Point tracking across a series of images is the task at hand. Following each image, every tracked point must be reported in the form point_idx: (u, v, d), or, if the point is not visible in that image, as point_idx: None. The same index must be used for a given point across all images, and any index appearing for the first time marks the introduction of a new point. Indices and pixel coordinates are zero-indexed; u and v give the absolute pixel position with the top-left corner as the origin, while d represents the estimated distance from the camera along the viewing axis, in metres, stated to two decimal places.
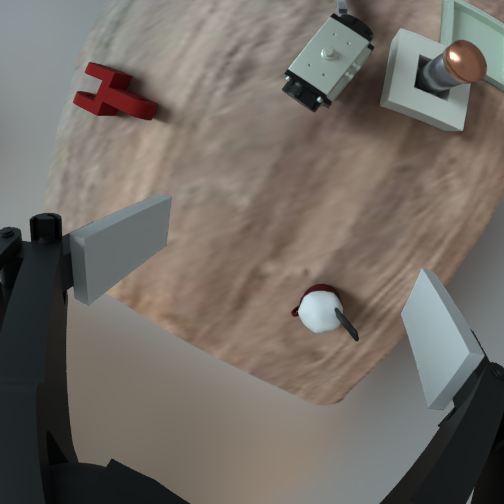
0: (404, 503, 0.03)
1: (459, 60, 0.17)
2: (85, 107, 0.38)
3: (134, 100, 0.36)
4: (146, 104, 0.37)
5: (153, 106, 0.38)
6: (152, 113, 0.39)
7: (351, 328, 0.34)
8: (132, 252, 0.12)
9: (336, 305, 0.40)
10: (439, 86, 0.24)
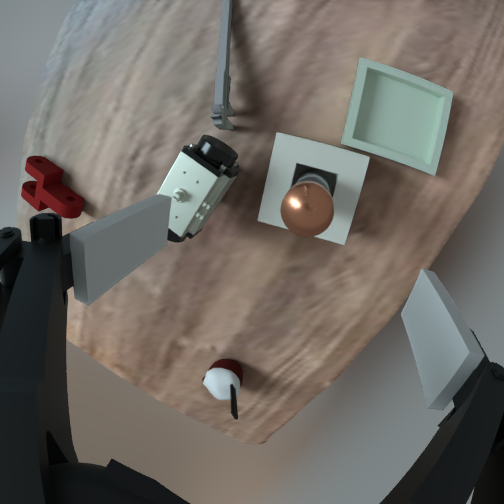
0: (404, 503, 0.03)
1: (292, 214, 0.23)
2: (29, 202, 0.43)
3: (61, 203, 0.42)
4: (71, 206, 0.42)
5: (77, 206, 0.43)
6: (78, 211, 0.44)
7: (231, 409, 0.39)
8: (132, 252, 0.12)
9: (232, 382, 0.45)
10: None
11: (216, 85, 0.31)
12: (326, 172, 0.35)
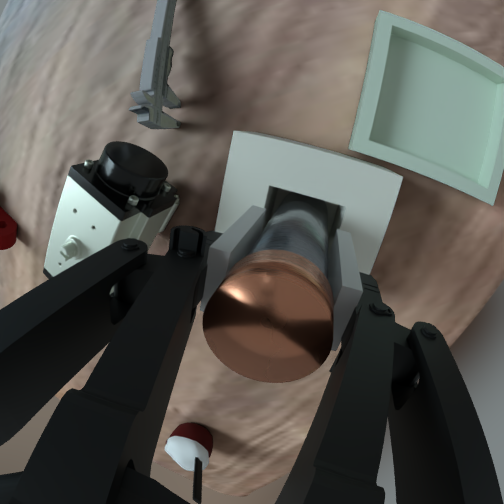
0: (309, 468, 0.04)
1: (231, 340, 0.09)
2: None
3: None
4: None
5: (7, 235, 0.30)
6: (10, 240, 0.31)
7: (193, 493, 0.26)
8: None
9: (197, 455, 0.32)
10: None
11: (145, 60, 0.18)
12: None
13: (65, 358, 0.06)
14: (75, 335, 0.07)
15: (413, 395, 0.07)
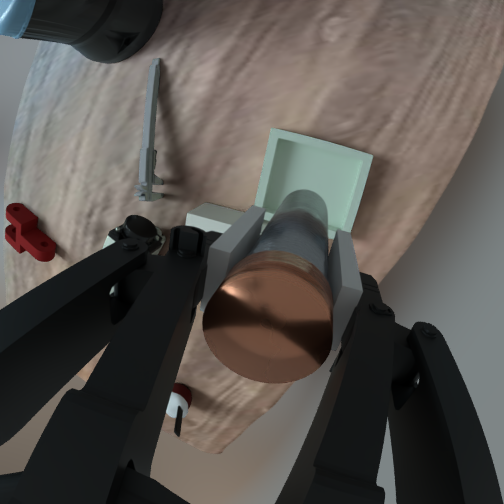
0: (309, 468, 0.04)
1: (231, 340, 0.09)
2: (12, 245, 0.48)
3: (36, 250, 0.47)
4: (44, 252, 0.47)
5: (50, 251, 0.48)
6: (52, 255, 0.49)
7: (174, 428, 0.45)
8: None
9: (179, 404, 0.51)
10: None
11: (140, 163, 0.36)
12: None
13: (64, 358, 0.06)
14: (75, 335, 0.07)
15: (413, 395, 0.07)
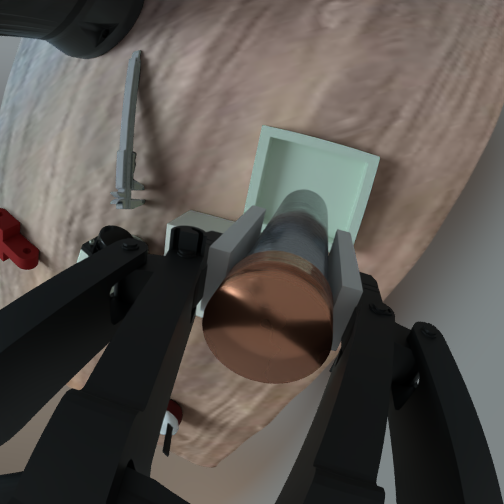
0: (309, 468, 0.04)
1: (231, 340, 0.09)
2: None
3: (18, 257, 0.42)
4: (26, 259, 0.43)
5: (32, 259, 0.44)
6: (34, 262, 0.45)
7: (163, 447, 0.40)
8: None
9: (168, 421, 0.46)
10: None
11: (117, 167, 0.32)
12: None
13: (65, 358, 0.06)
14: (75, 335, 0.07)
15: (413, 395, 0.07)
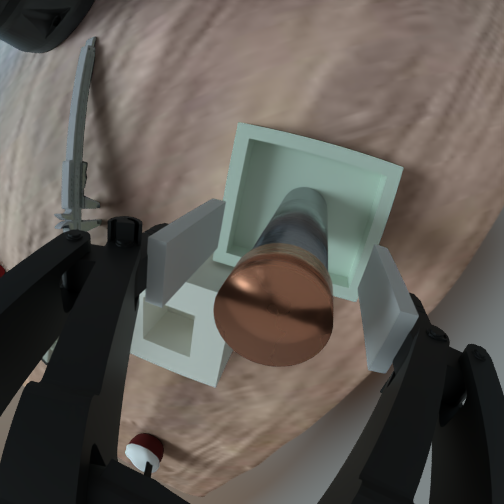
0: (354, 481, 0.04)
1: (240, 325, 0.10)
2: None
3: None
4: None
5: None
6: None
7: None
8: (196, 255, 0.13)
9: (147, 460, 0.38)
10: None
11: (62, 182, 0.24)
12: None
13: (26, 348, 0.06)
14: (33, 324, 0.06)
15: (458, 412, 0.06)
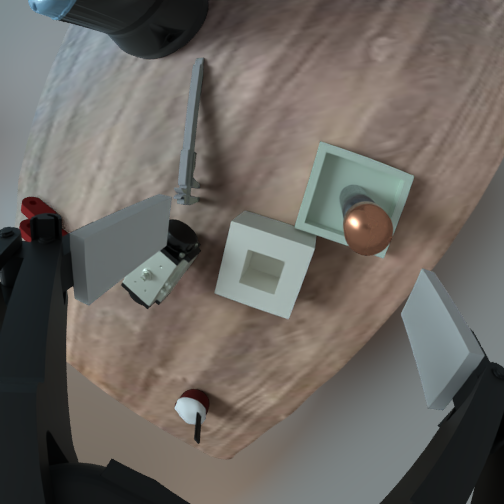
0: (404, 503, 0.03)
1: (355, 233, 0.23)
2: (27, 240, 0.48)
3: None
4: None
5: None
6: None
7: (194, 435, 0.44)
8: (132, 252, 0.12)
9: (198, 411, 0.50)
10: None
11: (180, 165, 0.36)
12: None
13: None
14: None
15: None
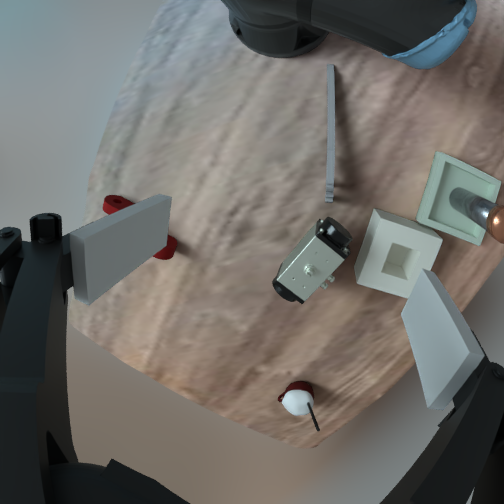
0: (404, 503, 0.03)
1: (499, 228, 0.25)
2: None
3: None
4: (168, 248, 0.49)
5: (174, 247, 0.50)
6: None
7: (315, 423, 0.47)
8: (132, 252, 0.12)
9: (309, 401, 0.53)
10: None
11: (328, 165, 0.38)
12: None
13: None
14: None
15: None
